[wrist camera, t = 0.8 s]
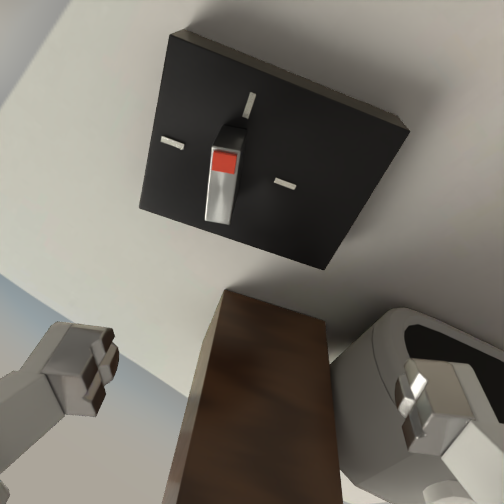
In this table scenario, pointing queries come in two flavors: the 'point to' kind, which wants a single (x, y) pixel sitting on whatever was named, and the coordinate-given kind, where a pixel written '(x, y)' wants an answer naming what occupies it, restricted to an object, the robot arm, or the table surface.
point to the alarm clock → (385, 411)
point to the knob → (225, 174)
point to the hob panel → (265, 150)
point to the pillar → (258, 412)
